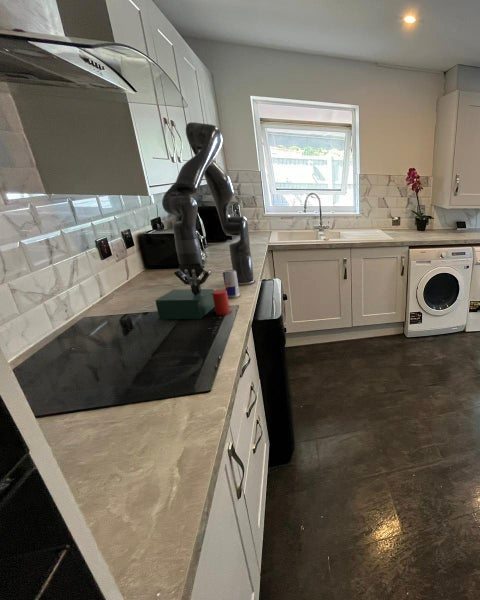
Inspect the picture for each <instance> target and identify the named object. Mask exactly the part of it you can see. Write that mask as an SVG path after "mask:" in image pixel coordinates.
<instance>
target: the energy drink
mask: <svg viewBox="0 0 480 600" xmlns="http://www.w3.org/2000/svg"><path fill="white" fill-rule="evenodd" d="M222 278H223V283H224V284H223V285H224V290H226V291H227V296H228V299H236V298H238V297H240V289H239V285H238V281H237V274H236V271H235V270H233V269H225V270H223V271H222Z"/></svg>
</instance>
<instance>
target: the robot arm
mask: <svg viewBox="0 0 480 600" xmlns="http://www.w3.org/2000/svg"><path fill="white" fill-rule="evenodd" d="M185 135H186V139H187V142H188V144H189V146H190V148H191V151H192V152H193V154H194V156H192V157H191V158H190V159H188V160H187V161H186V162H185V163H184V164H183V165H182V167H181V168H180V170H179V172H178V175H177V177H176V180H175V182H174V183H173V184H172V185H171V186H170V187H169V188H168V190H167V191H165V193H164V195H163V196H162V200H161V205H162V209H163V210H164V212H166V213H167V214H169V215H171V216H173V215H174V216H181V220H180V221H176V222H174V223H173V224H172V231H173V236H174V243H175V251H176V255H177V260H178V264H179V266H178V270H176V271H174V272H173V275H175V277H176V278H178V279H179V281H181V282H182V283H183V284H184V285H188V286H190V289H191V290H192V293H194V295H199V294H200V293H201V289H202V287H201V285H203V284H204V283H206V282H207V280H208V279H209V277H210V275H211V274H212V271H211V270H208V269H206V268H205V265H204V264H203V256H202V252H201V245H200V241H199V239H198V233H197V228H196V227H197V217H198V208H199V207H198V204H197V201H196V200H195V198H194V197H193V196H194V195H196V194H197V193H198V191H199V189H200V186H201V183H202V181H203V178H204V179H205V182H206V185H207V188H208V190H209V192H210V195H211V197H212V200H213V202H214V206H215V208H216V211H217V214H218V217H219V221H220V224H221V228H222V231H223V232H224V234H225V235H226V236H229V237H230V236H231V237H239V239H238V240H237V241H233V242H231V243H230V244H229V245H228V250H229V254H230V261H231V267H232V269H231V270H235V271H236V274H237V281H238V286H246V285H251V284H253V283H255V278H254V277H255V276H254V269H253V260H252V253H251V247H250V246H251V241H250V228H249V222H248V219H247V218H246V217H245V216H231V215H230V214H229V207H230V204H231V202H232V201H233V197H234V188H233V185H232V182H231V179H230V176H229V175H228V174H227V173H226V171H225V170H223V168H222V167H220V165H219V164H218V163H217V162H216V161H215V158H216V156H217V155H218V153H219V151H220V150H221V148H222V145H223V134H222V132H221V130H220V128H219V127H218V126H216V125H214V124H211V123H202V122H196V121H195V122H192V121H191V122H188V123H186V126H185ZM201 275H202V277H201Z"/></svg>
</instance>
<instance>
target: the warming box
mask: <svg viewBox="0 0 480 600" xmlns="http://www.w3.org/2000/svg"><path fill="white" fill-rule="evenodd" d="M155 305H156V311H157V313H158V314H157V315H158V317H159V320H202V318H204V317H205V316H206V315H207V314H209V312H211V311H212V310H213V309H215V305H214V300H213V294H212V293H211V294H209V295H208V296H207V297H205V298H204V299H203V300H201V301H200V302H156V301H155Z"/></svg>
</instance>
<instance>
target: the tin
mask: <svg viewBox="0 0 480 600" xmlns="http://www.w3.org/2000/svg"><path fill="white" fill-rule="evenodd" d="M212 294H213V300H214V305H215V307H214V311H215V315H217V316H224V315H228V314H230V313H231V309H230V304H229V298H228V296H227V291H226V290H225V289H217V290H216V289H215V290H214V291H213V292H212Z"/></svg>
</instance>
